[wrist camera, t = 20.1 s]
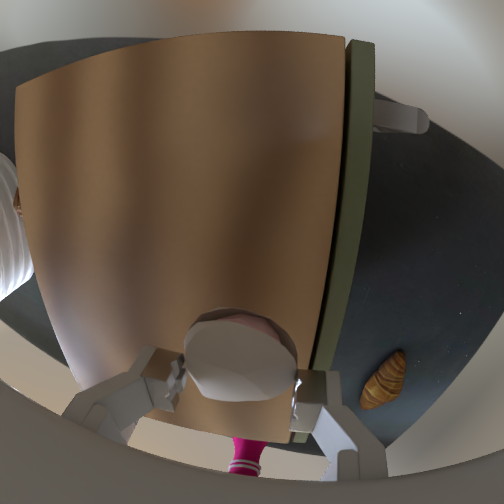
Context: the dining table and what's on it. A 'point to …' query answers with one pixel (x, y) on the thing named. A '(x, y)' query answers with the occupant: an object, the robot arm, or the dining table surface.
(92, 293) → the cupboard
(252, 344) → the clam shell
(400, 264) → the dining table surface
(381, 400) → the croissant
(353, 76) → the cupboard door
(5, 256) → the plate stack
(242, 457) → the pepper mill
